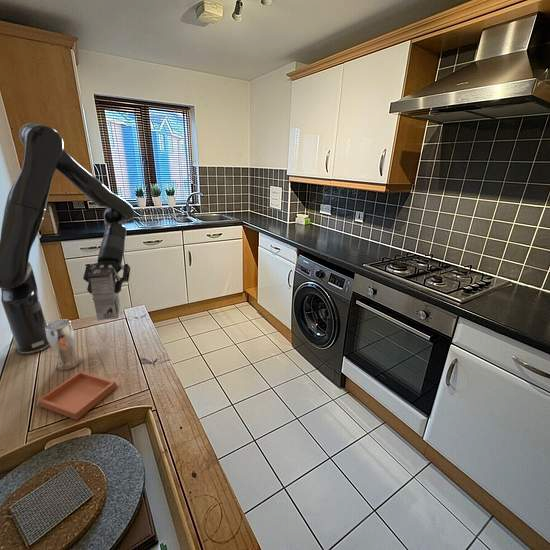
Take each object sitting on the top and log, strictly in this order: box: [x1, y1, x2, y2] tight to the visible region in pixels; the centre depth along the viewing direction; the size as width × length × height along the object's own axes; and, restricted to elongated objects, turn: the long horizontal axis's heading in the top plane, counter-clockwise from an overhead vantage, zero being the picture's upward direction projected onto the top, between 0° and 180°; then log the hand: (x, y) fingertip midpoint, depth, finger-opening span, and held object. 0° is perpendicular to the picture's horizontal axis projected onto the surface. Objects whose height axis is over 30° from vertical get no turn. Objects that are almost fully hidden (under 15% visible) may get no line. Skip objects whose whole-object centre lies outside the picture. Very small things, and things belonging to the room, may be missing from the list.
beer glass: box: [44, 318, 81, 371], centre depth 92 cm, size 7×7×15 cm
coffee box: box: [89, 267, 121, 321], centre depth 100 cm, size 9×6×16 cm
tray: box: [37, 370, 118, 421], centre depth 81 cm, size 14×13×2 cm
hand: (103, 292), depth 98 cm, fingers closed on coffee box, 7 cm apart
